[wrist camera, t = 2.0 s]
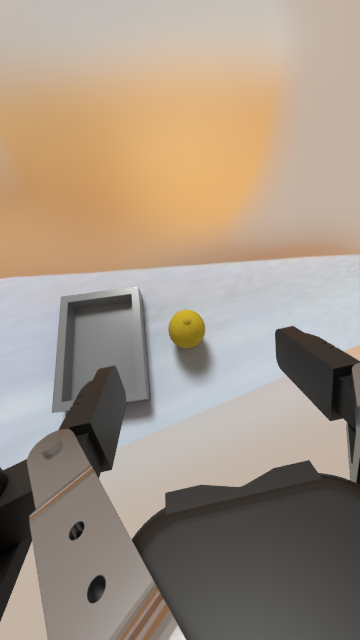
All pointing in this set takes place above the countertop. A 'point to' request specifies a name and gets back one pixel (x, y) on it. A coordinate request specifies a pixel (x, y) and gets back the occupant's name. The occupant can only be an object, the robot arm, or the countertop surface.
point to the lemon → (186, 329)
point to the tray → (100, 344)
